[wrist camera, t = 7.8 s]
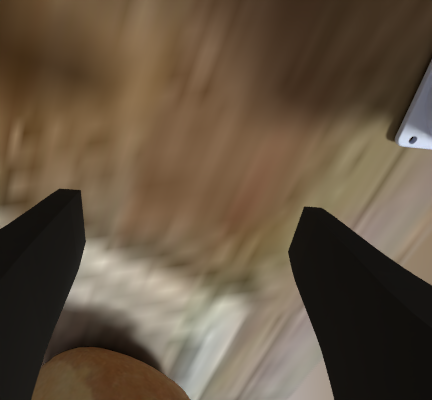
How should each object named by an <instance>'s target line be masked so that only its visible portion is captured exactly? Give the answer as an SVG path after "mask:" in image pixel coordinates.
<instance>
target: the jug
mask: <svg viewBox="0 0 432 400" xmlns="http://www.w3.org/2000/svg"><path fill="white" fill-rule="evenodd" d="M31 400H190V399H189V397H188V396H187V394H186V393H185V391H184V390H183V389H182V388H181V387H180V386H179V385H177V384H176V383H175V382H174V381H173V380H171V379H169V378H168V377H167V376H166V375H164V374H163V373H161V372H159V371H158V370H156V369H155V368H153V367H151V366H149V365H147V364H146V363H144V362H142V361H139V360H137V359H134V358H132V357H130V356H127V355H124V354H121V353H118V352H114V351H111V350H107V349H103V348H97V347H79V348H75V349H71V350H67V351H64V352H62V353H60V354H58V355H56V356H54V357H53V358H52V359H51V360H50V361H48V362H47V363H45V364H44V365H43V366H42V367H41V368H40V371H39V375H38V378H37V381H36V385H35V388H34V392H33V395H32V399H31Z"/></svg>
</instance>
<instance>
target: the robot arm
mask: <svg viewBox="0 0 432 400" xmlns="http://www.w3.org/2000/svg"><path fill="white" fill-rule="evenodd" d="M411 137H413V139H412V140H411V141H409V139H410V138H411ZM395 142H396V143H397V144H398V145H399V146H403V147H412V148H422V149H431V150H432V60H431V63H430V65H429V67H428V69H427V71H426V73H425V75H424V77H423V79H422V82H421V84H420V86H419V88H418V90H417V92H416V94H415V96H414V99H413V101H412V103H411V105H410V107H409V109H408V111H407V113H406V115H405V118H404V120H403V122H402V124H401V126H400V128H399V130H398V132H397V134H396V137H395ZM85 242H86V240H85V229H84V219H83V209H82V199H81V190H70V189H58V190H57V191H55V192H54V193H52V194H51V195H49V196H48V197H47V198H45V199H44V200H42V201H41V202H40V203H38V204H37V205H35V206H34V207H32V208H31V209H30V210H28V211H27V212H25V213H24V214H22V215H21V216H19V217H18V218H17V219H15V220H14V221H12V222H11V223H9V224H8V225H6V226H5V227H3V228H1V229H0V400H31V399H32V395H33V392H34V388H35V385H36V381H37V378H38V375H39V371H40V368H41V365H42V361H43V358H44V355H45V351H46V349H47V346H48V343H49V340H50V338H51V335H52V333H53V330H54V328H55V325H56V323H57V321H58V318H59V316H60V313H61V311H62V309H63V306H64V304H65V301H66V299H67V297H68V294H69V292H70V289H71V287H72V284H73V282H74V280H75V277H76V275H77V272H78V269H79V266H80V262H81V258H82V254H83V250H84V246H85ZM288 254H289V258H290V263H291V267H292V272H293V276H294V279H295V282H296V285H297V287H298V290H299V293H300V295H301V298H302V300H303V303H304V306H305V308H306V311H307V313H308V316H309V318H310V321H311V324H312V326H313V329H314V331H315V334H316V336H317V339H318V342H319V345H320V348H321V351H322V354H323V358H324V362H325V365H326V369H327V373H328V376H329V380H330V384H331V388H332V392H333V396H334V400H432V285H430V284H428V283H427V282H425V281H423V280H422V279H420V278H418V277H417V276H415V275H414V274H412V273H411V272H409V271H408V270H406V269H404V268H403V267H402V266H400V265H399V264H397V263H396V262H394V261H393V260H391V259H390V258H389V257H387V256H386V255H384V254H383V253H382V252H380V251H379V250H377V249H376V248H375V247H373V246H372V245H371V244H369V243H368V242H367V241H365V240H364V239H363V238H361V237H360V236H359V235H358V234H356V233H355V232H354V231H352V230H351V229H350V228H349V227H347V226H346V225H345V224H343V223H342V222H341V221H339V220H338V219H337V218H335V217H334V216H333V215H331V214H330V213H328V212H327V211H326V210H324V209H322V208H317V207H304V209H303V212H302V214H301V217H300V220H299V223H298V226H297V228H296V231H295V234H294V237H293V239H292V242H291V245H290V248H289V251H288Z"/></svg>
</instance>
